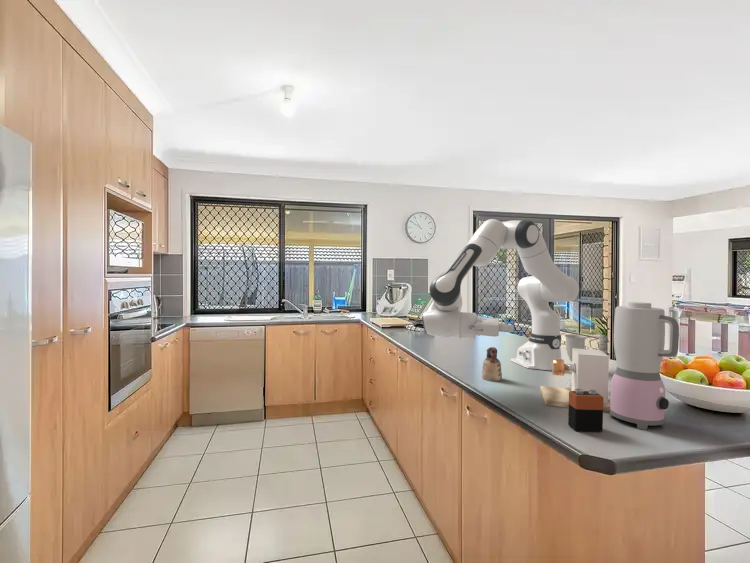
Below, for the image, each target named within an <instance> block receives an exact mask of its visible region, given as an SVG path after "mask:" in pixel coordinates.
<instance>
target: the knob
mask: <svg viewBox="0 0 750 563" xmlns="http://www.w3.org/2000/svg"><path fill="white" fill-rule="evenodd" d="M572 372H574V373H576V365H572V363H571V364H570V363H569V364H568V363H565V361H564V359H562V360H561V359H552V370H551V374H552V376H562V377H564V376H565V373H572Z"/></svg>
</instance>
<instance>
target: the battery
mask: <svg viewBox="0 0 750 563" xmlns="http://www.w3.org/2000/svg"><path fill="white" fill-rule="evenodd" d="M567 414H568V416H567V417H568V418H567V419H568V420H567V421H568V422H567V424H568V425H567V426H569V427H570V428H571V429H572V430H575V431H576V432H582V433H583V432H585V433H586V432H589V433H593V432H594V433H601V432H603V428H604V426H603V425H604V424H603V423H604V422H603V421H604V411H603V396H601V395H600V394H598V393H596V390H590V391H584V390H583V389H578V388H577V389H575V391H569V408H568V413H567Z"/></svg>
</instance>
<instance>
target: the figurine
mask: <svg viewBox="0 0 750 563" xmlns="http://www.w3.org/2000/svg"><path fill="white" fill-rule="evenodd" d="M481 373H482V374H481V377H482V379H483V380H485V379H486V380H485V381H488V380H491V381H490V382H500V380H501V381H502V379H503V372H502V364H501V361H500V360H499V359H498V349H497V348H496V347H494V346H490V347H488V348H487V349H486V357H485V359H484V360H483V363H482V370H481Z"/></svg>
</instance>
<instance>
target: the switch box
mask: <svg viewBox="0 0 750 563" xmlns="http://www.w3.org/2000/svg"><path fill="white" fill-rule="evenodd" d="M609 360H610V358H609V355H608V354H606V353H605V352H604V351H603V350H600V349H589V348H588V349H587V348H585V349H576V348H572V362H571V364H572V365H576V373H574V372H571V380H572V387H571V388H570V389H571V391H575V389H577V388H578V389H583V390H584V391H590V390H596V393H598V394H600V395H601V396H603V403H606V404H608V401H609V395H608V394H609V366H610V364H609V362H610V361H609Z"/></svg>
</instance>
